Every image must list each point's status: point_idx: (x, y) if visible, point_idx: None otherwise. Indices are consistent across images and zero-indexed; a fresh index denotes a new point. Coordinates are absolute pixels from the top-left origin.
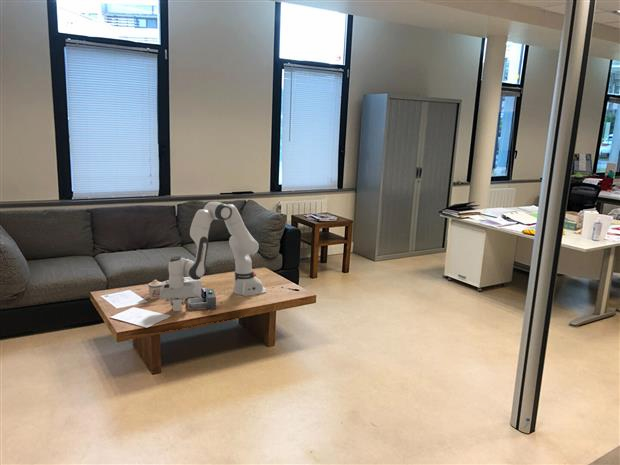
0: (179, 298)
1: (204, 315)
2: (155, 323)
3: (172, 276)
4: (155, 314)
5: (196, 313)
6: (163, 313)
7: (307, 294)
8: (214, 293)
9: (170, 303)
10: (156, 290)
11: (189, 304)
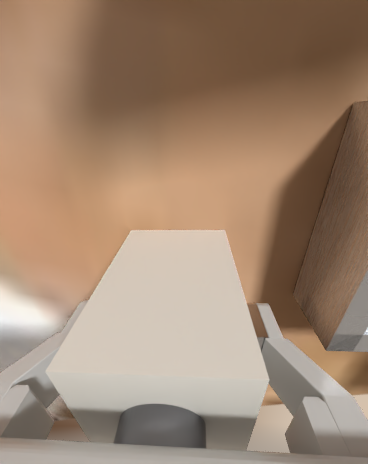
0: (214, 426)
1: (358, 390)
2: (64, 406)
3: None
4: (10, 321)
5: (320, 361)
6: (67, 318)
7: None
8: None
9: (77, 318)
10: None
11: (327, 347)
